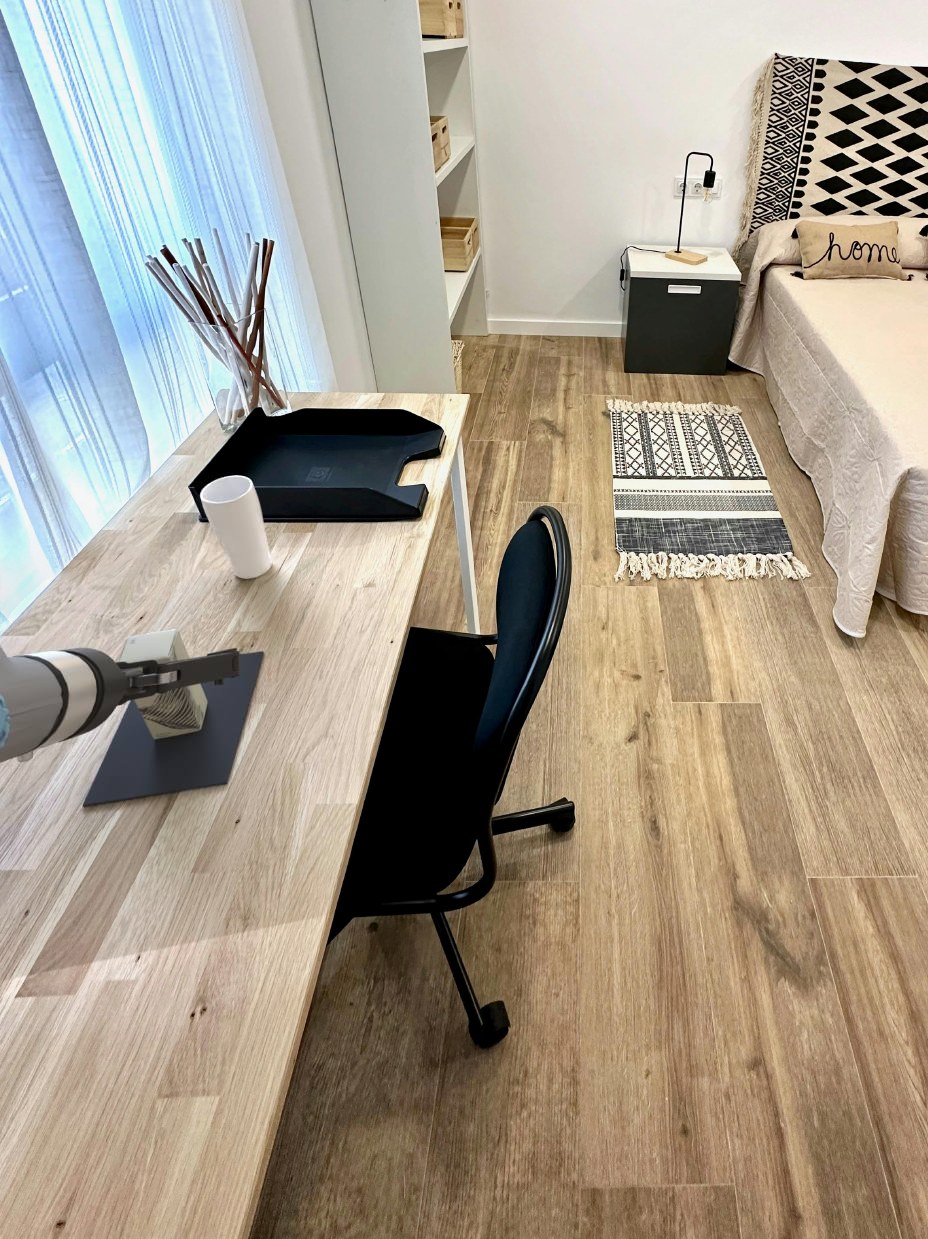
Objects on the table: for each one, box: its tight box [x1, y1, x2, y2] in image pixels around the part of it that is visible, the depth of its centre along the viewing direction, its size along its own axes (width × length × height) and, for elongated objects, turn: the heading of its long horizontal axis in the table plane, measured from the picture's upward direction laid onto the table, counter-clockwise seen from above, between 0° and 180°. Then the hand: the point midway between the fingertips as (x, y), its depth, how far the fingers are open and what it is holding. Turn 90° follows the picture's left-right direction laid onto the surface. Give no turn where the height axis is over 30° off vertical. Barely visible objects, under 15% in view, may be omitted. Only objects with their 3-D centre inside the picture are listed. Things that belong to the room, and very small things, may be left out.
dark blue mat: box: [82, 650, 265, 808], centre depth 78 cm, size 14×18×1 cm
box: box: [117, 628, 207, 739], centre depth 74 cm, size 5×4×13 cm
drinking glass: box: [199, 475, 273, 580], centre depth 95 cm, size 7×7×15 cm
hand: (169, 668), depth 75 cm, fingers open, 13 cm apart
